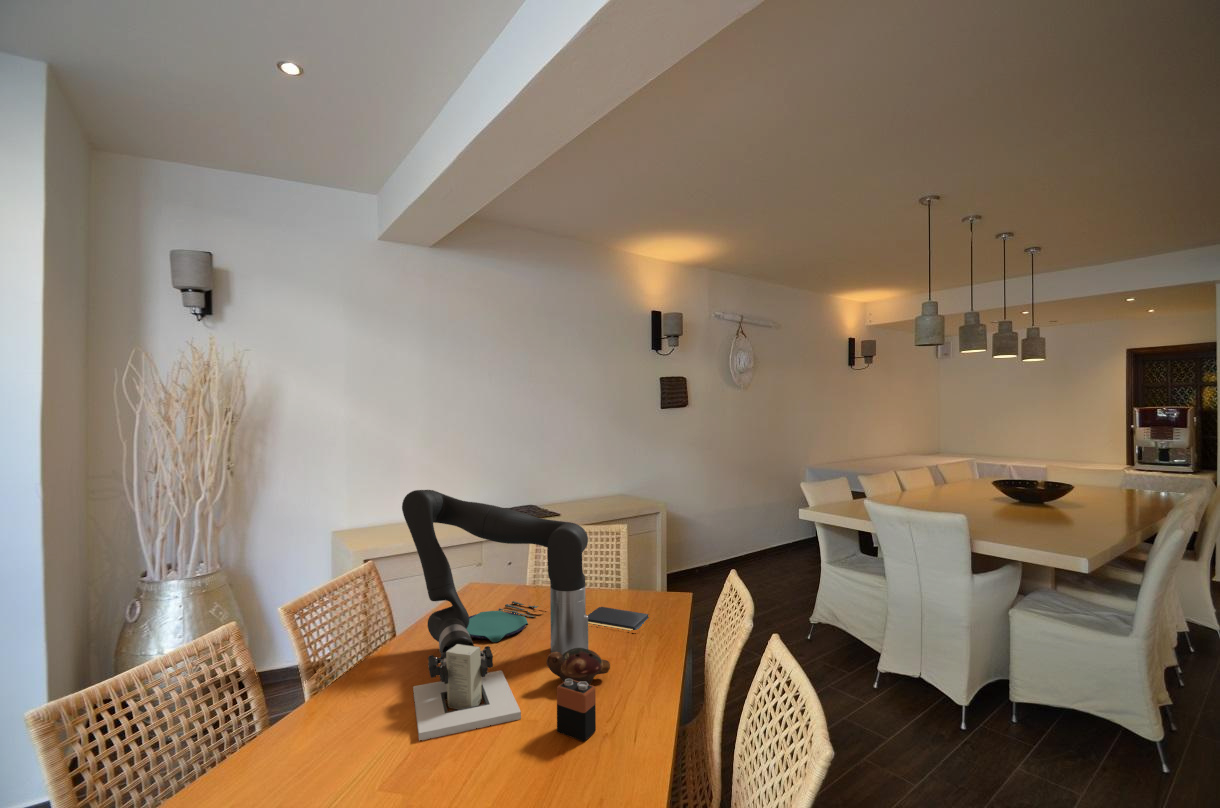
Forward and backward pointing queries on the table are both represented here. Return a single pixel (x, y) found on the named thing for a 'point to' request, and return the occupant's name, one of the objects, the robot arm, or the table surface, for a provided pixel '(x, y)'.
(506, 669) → the table surface
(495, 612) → the teal flat piece
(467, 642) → the robot arm
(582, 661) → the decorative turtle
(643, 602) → the table surface
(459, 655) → the skincare box
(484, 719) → the slot board
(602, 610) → the dark hardcover book
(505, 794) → the table surface
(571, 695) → the battery
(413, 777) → the table surface
